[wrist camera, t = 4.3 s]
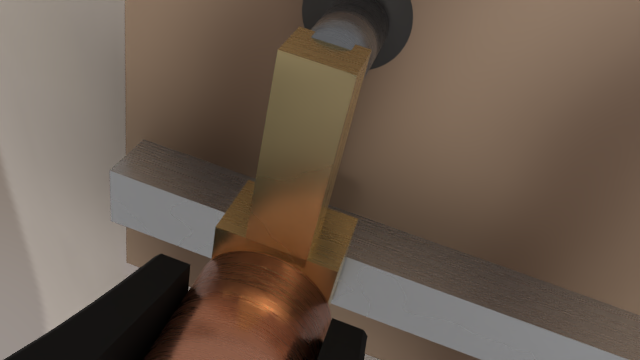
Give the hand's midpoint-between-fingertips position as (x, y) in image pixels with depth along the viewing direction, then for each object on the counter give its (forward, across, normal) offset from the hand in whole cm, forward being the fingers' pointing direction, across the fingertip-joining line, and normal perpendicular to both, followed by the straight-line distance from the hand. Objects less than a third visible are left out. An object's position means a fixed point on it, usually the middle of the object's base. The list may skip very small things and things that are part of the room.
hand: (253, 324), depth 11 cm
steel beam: (+4, -6, +1) cm, 7 cm away
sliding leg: (+4, 0, -2) cm, 4 cm away
